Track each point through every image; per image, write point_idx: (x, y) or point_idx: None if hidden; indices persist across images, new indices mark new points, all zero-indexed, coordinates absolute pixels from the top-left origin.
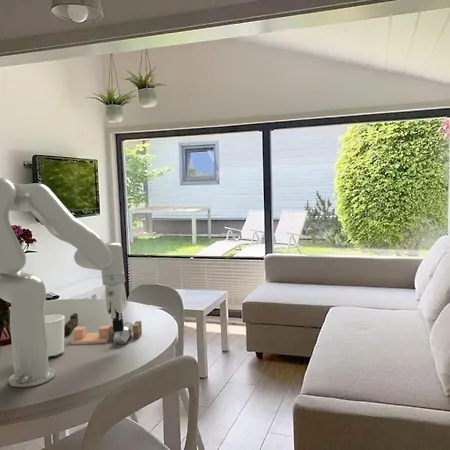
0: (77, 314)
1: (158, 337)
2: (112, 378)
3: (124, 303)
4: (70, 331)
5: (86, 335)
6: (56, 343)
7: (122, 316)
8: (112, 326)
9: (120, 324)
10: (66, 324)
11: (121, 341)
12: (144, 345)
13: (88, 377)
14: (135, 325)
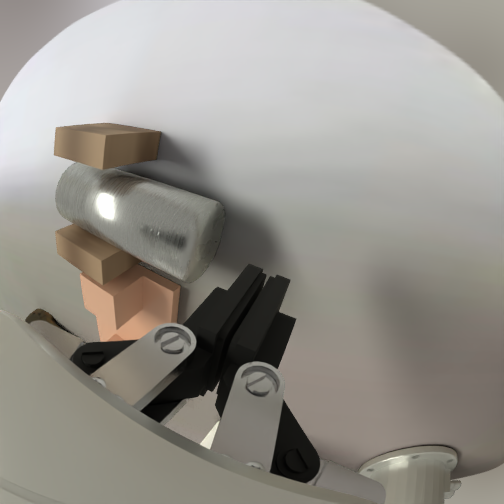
0: (27, 320)
1: (176, 34)
2: None
3: (48, 496)
4: None
5: (116, 334)
6: None
7: (159, 329)
8: (101, 278)
9: (268, 329)
10: None
11: (214, 230)
12: (281, 98)
13: None
14: (102, 151)
